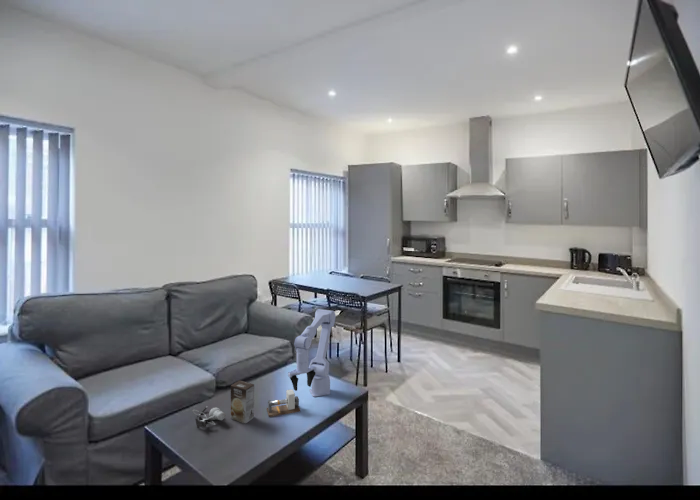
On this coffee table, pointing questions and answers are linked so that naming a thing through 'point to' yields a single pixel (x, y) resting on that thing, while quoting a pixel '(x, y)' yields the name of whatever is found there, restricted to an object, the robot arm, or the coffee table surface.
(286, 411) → the rod jig
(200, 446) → the coffee table surface
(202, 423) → the clip-on lamp
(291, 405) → the white block on rod
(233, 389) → the coffee box
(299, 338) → the robot arm
